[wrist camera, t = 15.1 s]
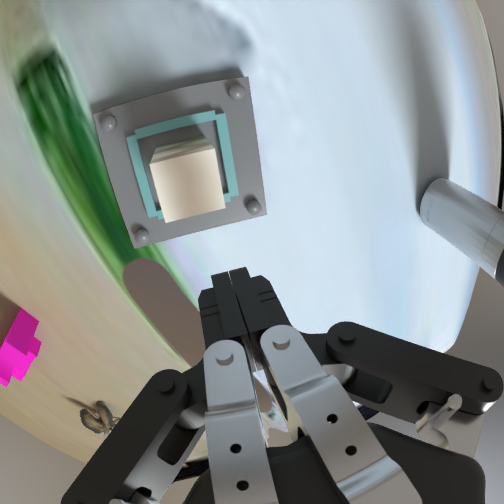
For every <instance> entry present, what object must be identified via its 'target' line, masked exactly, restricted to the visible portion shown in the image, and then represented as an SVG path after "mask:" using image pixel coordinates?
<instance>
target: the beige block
mask: <svg viewBox="0 0 504 504" xmlns="http://www.w3.org/2000/svg"><path fill="white" fill-rule="evenodd" d="M150 168H151V172H152V176H153V180H154V184H155V187H156V191H157V195H158V198H159V202H160V206H161V209H162V213H163V216H164V219H165V223H168V222H172V221H176V220H180V219H183V218H187V217H191V216H195V215H199V214H203V213H207V212H212V211H216V210H220V209H224V208H226V207H225V202H224V196H223V191H222V185H221V180H220V174H219V169H218V163H217V158H216V152H215V148H214V147H213V146H212V144H211V143H210V142H209V141H208V139H207V138H206V137H205V136H201V137H196V138H192V139H187V140H183V141H179V142H175V143H171V144H167V145H163V146H159V147H156V149H155V152H154V154H153V157H152V159H151V162H150Z"/></svg>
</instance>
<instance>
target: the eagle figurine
mask: <svg viewBox="0 0 504 504" xmlns="http://www.w3.org/2000/svg"><path fill="white" fill-rule="evenodd" d="M97 407H98V413H99V414H98V413H95V416H96V417H97V419H96V418H95V417H94V416H92V415H91V414H90V413H89V412H88V411H87V409H85V408H84V409H82V410H80V417H81V421H82V423H83V425H84V426H86V428H88V429H90V430H92V431H94V432H95V433H102V432H104V437H105V438H107V436H108V435H109V433H110V432H111V431H112V428H113V427H115V425H116V424H115V423H116V422H117V421H119V420H120V418H118V419H116V420H114V421H113V420H112V413H111V412H110V410H109V409H108V408H107V406H105V405H104V404H103V403H101V402H99V401H98V402H97Z"/></svg>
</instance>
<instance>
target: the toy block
mask: <svg viewBox="0 0 504 504" xmlns="http://www.w3.org/2000/svg"><path fill="white" fill-rule="evenodd" d="M38 323H39V321H38V320H36V319H35V318H34V317H32V316H31V315H30V314H28V313H27V312H26V311H25V310H23V309H22V308H21V309H20V311H19V313H18V314H17V316H16V318H15V320H14V322H13V323H12V325H11V327H10V329H9V331H8V333H7V335H6V337H5V339H4V341H3V343H2V345H1V347H0V383H1V384H2V385H4V386H6V387H7V386H8V384H9V382H10V379H11V376H13V377H15V378H16V379H18V380H19V381H21V380H22V379H23V378H24V376H25V375H26V373H27V371H28V368H29V366H30V365H31V363H32V361H33V360H34V359H35V358H36V357H37V355H38V352H39V349H40V345H41V342H40V341H39V340H37V339H36V338H35V337H33V336H34V333H35V331H36V328H37V325H38Z"/></svg>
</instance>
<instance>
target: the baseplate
mask: <svg viewBox="0 0 504 504" xmlns="http://www.w3.org/2000/svg"><path fill="white" fill-rule="evenodd" d="M93 117H94V121H95V125H96V129H97V133H98V137H99V141H100V145H101V149H102V153H103V156H104V160H105V163H106V167H107V170H108V174H109V177H110V180H111V183H112V187H113V190H114V193H115V196H116V199H117V202H118V205H119V208H120V211H121V214H122V216H123V219H124V222H125V225H126V228H127V230H128V233H129V236H130V238H131V241H132V244H133V246H134V249H135V248H139V247H143V246H146V245H150V244H154V243H157V242H161V241H165V240H168V239H172V238H176V237H180V236H183V235H187V234H191V233H195V232H199V231H203V230H207V229H211V228H214V227H218V226H222V225H226V224H231V223H235V222H239V221H243V220H247V219H251V218H255V217H259V216H264V215H267V211H266V203H265V195H264V187H263V179H262V172H261V164H260V157H259V149H258V142H257V134H256V127H255V120H254V113H253V106H252V99H251V92H250V85H249V79H248V77H241V78H233V79H226V80H220V81H214V82H208V83H203V84H197V85H192V86H188V87H183V88H178V89H174V90H170V91H166V92H162V93H158V94H154V95H151V96H147V97H144V98H140V99H137V100H133V101H130V102H127V103H124V104H121V105H118V106H115V107H112V108H109V109H106V110H103V111H101V112H98V113H95V114H93ZM201 136H205V137H206V138H207V139H208V141H209V142H210V143H211V144H212V146H213V147H214V148H215V152H216V158H217V163H218V169H219V174H220V180H221V185H222V191H223V196H224V202H225V207H226V208H224V209H220V210H216V211H212V212H207V213H203V214H199V215H195V216H191V217H187V218H183V219H180V220H176V221H172V222H168V223H165V219H164V216H163V213H162V209H161V206H160V202H159V198H158V195H157V191H156V187H155V184H154V180H153V176H152V172H151V168H150V162H151V159H152V157H153V154H154V152H155V149H156V147H159V146H163V145H167V144H171V143H175V142H179V141H183V140H187V139H192V138H196V137H201Z"/></svg>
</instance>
